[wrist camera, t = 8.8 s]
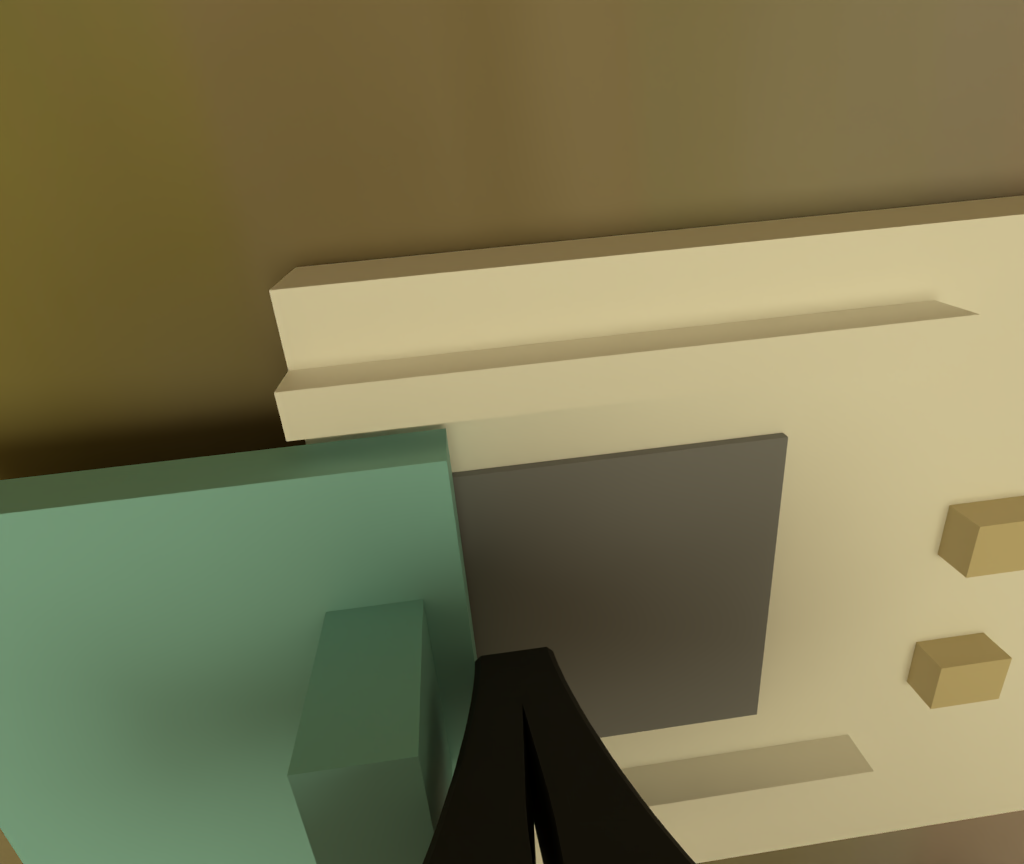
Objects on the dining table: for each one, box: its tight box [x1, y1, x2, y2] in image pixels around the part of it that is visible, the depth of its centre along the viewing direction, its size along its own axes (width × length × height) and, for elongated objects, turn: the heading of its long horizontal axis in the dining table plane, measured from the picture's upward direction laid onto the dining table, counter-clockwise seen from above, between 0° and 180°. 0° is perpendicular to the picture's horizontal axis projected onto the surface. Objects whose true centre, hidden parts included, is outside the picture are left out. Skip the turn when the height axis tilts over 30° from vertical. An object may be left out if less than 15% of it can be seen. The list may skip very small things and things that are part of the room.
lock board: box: [269, 195, 1024, 864], centre depth 14 cm, size 16×26×3 cm, turn 95°
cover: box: [0, 428, 477, 864], centre depth 10 cm, size 9×9×4 cm
